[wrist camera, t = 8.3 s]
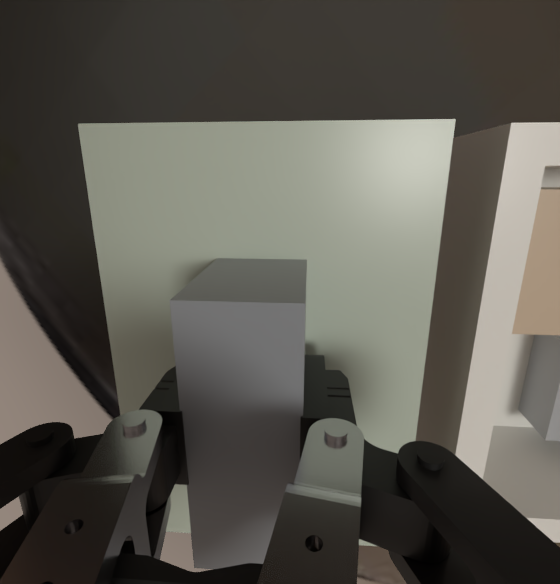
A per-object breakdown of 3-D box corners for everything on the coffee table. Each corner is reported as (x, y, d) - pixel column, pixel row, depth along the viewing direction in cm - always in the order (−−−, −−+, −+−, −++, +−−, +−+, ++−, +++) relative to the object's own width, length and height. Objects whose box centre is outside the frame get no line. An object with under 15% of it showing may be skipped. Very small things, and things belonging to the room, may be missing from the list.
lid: (113, 131, 14) (-58, 92, 7) (432, 128, 13) (551, 80, 7) (156, 489, 19) (76, 653, 12) (391, 504, 18) (436, 688, 11)
